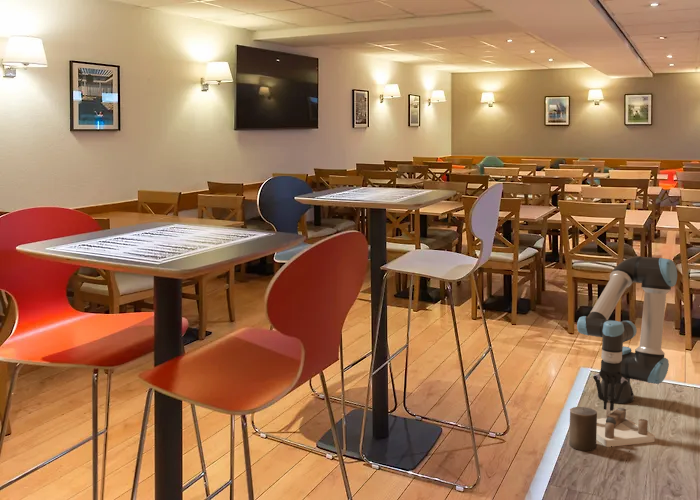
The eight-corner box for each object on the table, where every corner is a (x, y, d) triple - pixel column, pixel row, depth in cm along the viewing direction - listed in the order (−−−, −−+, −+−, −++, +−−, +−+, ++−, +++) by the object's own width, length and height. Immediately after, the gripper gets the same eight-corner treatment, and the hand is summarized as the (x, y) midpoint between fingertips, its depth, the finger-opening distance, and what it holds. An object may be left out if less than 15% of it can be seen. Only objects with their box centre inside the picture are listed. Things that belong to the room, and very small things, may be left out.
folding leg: (618, 416, 267) (618, 407, 267) (627, 419, 265) (627, 409, 264) (605, 426, 258) (606, 415, 258) (614, 428, 256) (615, 418, 255)
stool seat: (623, 422, 269) (623, 404, 268) (654, 441, 249) (655, 423, 248) (578, 426, 265) (578, 408, 264) (606, 447, 246) (607, 427, 245)
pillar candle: (596, 452, 241) (597, 413, 239) (568, 449, 245) (569, 410, 243) (596, 442, 250) (597, 404, 248) (569, 439, 254) (570, 401, 252)
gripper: (592, 360, 258) (589, 417, 261) (627, 365, 251) (623, 424, 255) (596, 355, 264) (593, 411, 267) (630, 360, 258) (626, 417, 261)
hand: (608, 417), depth 261 cm, fingers closed
